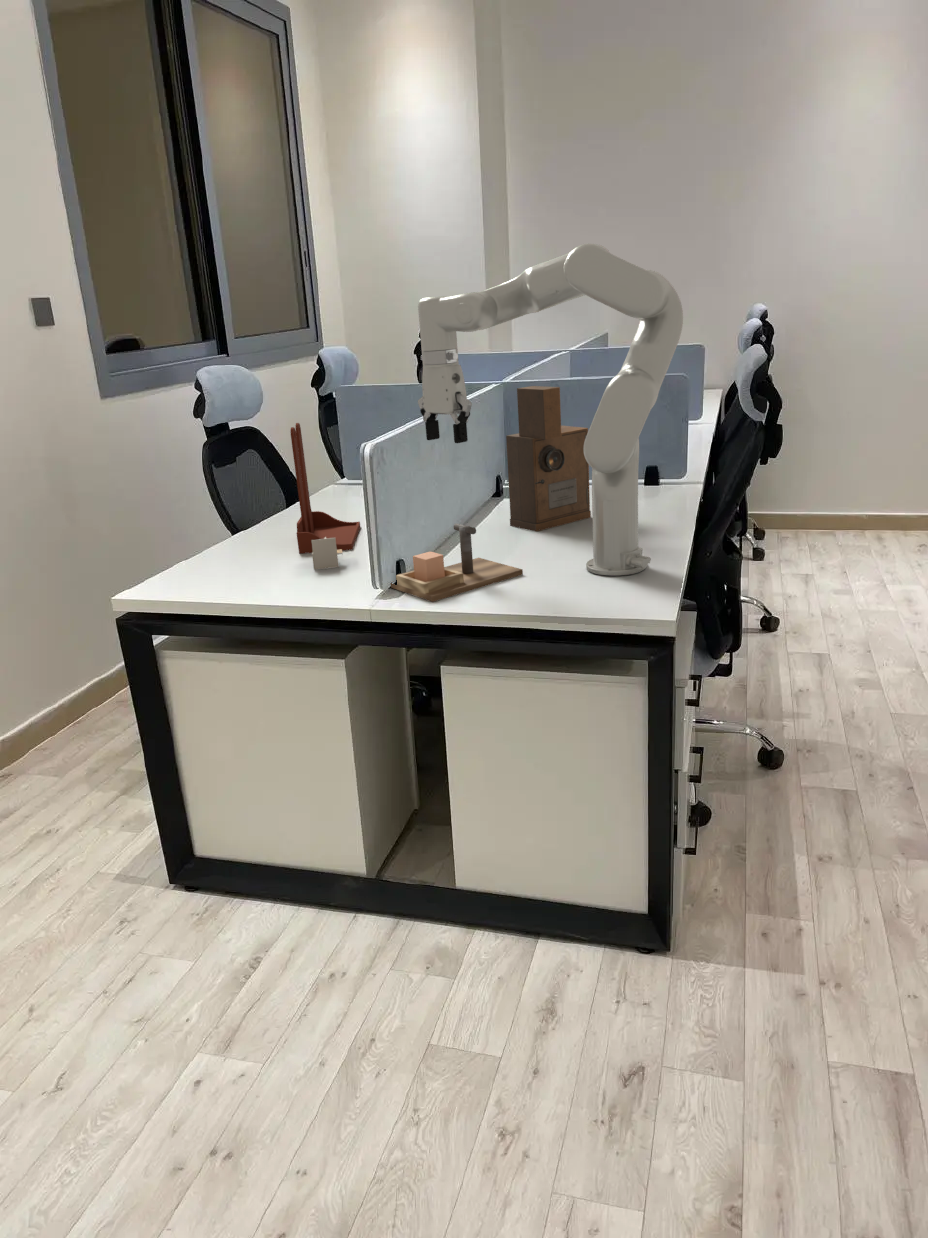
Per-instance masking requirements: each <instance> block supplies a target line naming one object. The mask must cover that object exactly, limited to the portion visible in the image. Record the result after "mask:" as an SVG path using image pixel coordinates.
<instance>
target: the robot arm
mask: <svg viewBox="0 0 928 1238" xmlns="http://www.w3.org/2000/svg"><path fill="white" fill-rule="evenodd" d="M583 296H587V297H589V298H591V299H593V300H595V301H597V302H599V303H601V304H603V305H605V306H607V307H609V308H611V309H613V310H615V311H617V312H619V313H621V314H623V315H625V316H627V317H630V318H633V319H638V325H637V328H636V329H637V330H636V331H635V334H634V337H633V339H632V340H631V344H630V345H629V350H628V351H627V354H626V357H625V360H624V361H623V363H622V366H621V369H620V370H619V372H618V373H617V374H616V375H615V376H614V377H612V379H611V380H610V381H608V382H609V383H608V384H607V385H606V388H605V389H604V392H603V394H602V397H601V399H600V400H599V401H600V402H599V404H598V406H597V410H596V412H595V414H594V416H593V419H592V421H591V424H590V426H589V428H588V433H587V436H586V439H585V442H584V456H585V459H586V461H587V463H588V464H589V468H591V504H592V505H591V507H592V511H591V512H592V513H591V514H592V515H591V517H592V547H593V548H592V553H593V555H592V556H593V558H591V559H589V560H588V561H587V562H586V564H585V565H586V570H587V571H588V572H590V573H592V574H596V575H600V576H601V575H602V576H610V577H611V576H612V577H613V576H614V577H616V576H617V577H618V576H627V575H634V574H638V573H640V572H642V571H644V570H645V569H646V568H647V567H648V565H649V564H650V563H651V561H652V560H651V559H652V558H651V557H650V556H646V555H643V548H642V547H639V466H640V465H639V462H640V435H641V433H642V430H643V429H644V426H645V423H646V422H647V419H648V417H649V415H650V412H651V410H652V408H654V406H655V404H656V403H657V400H658V398H659V393H660V390H661V386H662V384H663V381H664V379H665V377H666V374H667V372H668V370H669V367H670V365H671V362H672V360H673V357H674V355H675V352H676V350H677V346H678V344H679V341H680V338H681V336H682V331H683V324H684V310H683V306H682V305H683V304H682V302H681V298H680V296H679V294H678V292H677V290H676V289H675V288H674V286H673V285H672V284H671V282H670V281H669V280H668V279H667V278H666V277H665V276H664V275H663V274H661V273H660V272H657V271H655V270H651V269H650V270H648V269H644V268H642V267H640V266H638V265H636V264H633V263H631V262H629V261H627V260H625V259H623V258H621V257H619V256H616V255H614V254H613V253H611V252H610V251H609V250H608V249H607V248H606V247H604V246H602V245H600V244H596V243H595V244H594V243H583V244H580V245H578V246H576V247H575V248H574V249H572V250H571V251H570V252H567V253H565V254H563V255H560V256H557V257H555V258H551V259H550V260H547V261H543V262H540V263H538V264H535V265H532V266H530V267H528V268H526V269H525V270H524V271H522V272H521V273H520V274H519V275H518V276H516V277H514V278H513V279H510V280H508V281H506V282H503V283H501V284H498V285H496V286H493V287H490V288H487V289H485V290H481V291H479V292H478V291H477V292H466V293H461V294H457V295H453V296H452V295H451V296H447V295H446V296H445V295H442V296H429V297H428V296H427V297H423V298H421V299H420V300H419V302H418V303H417V304H418V305H417V312H418V313H417V314H418V322H419V334H420V335H419V336H420V345H421V357H422V376H421V378H422V379H421V380H422V381H421V383H422V387H421V390H422V396H421V397H420V398H419V399H418V400H417V405H418V406H419V409H420V414H421V416H422V420H423V422H424V423H425V426H424V427H425V434H426V435H425V436H426V440H427V441H433V440H438V439H440V437H441V435H440V426H439V423H440V422H439V419H437V418H438V416H439V415H448V416H449V415H450V417H451V418H452V420H453V421H454V423H453V424H452V428H453V430H452V431H453V440H454V441H453V442H454V444H460V443H467V442H468V427H467V423H468V422H469V418H470V416H471V410H472V407H473V404H472V401H470V400H469V399H468V398H467V388H466V382H465V377H464V371H463V369H462V366H461V364H459V363H460V362H459V351H458V338H457V337H458V336H457V332H462V333H473V332H477V331H482V330H487V329H490V328H493V327H495V326H498V325H501V324H503V323H506V322H510V321H512V320H514V319H517V318H520V317H523V316H525V315H526V316H527V315H530V314H535V313H539V312H541V311H544V310H547V309H549V308H550V309H551V308H552V307H555V306H558V305H561V304H563V303H566V302H570V301H572V300H574V299H577V298H580V297H583Z"/></svg>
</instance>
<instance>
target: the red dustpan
mask: <svg viewBox="0 0 928 1238" xmlns="http://www.w3.org/2000/svg"><path fill="white" fill-rule="evenodd" d="M290 440H291V447H292V448H291V449H292V454H293V461H294V463H293V465H294V471H295V478H296V487H297V493H298V501H299V509H300V518H299V519H298V521H297V522H296V539H297V546H298V554H312V552H313V551H312V542H311V540H318V539H324V538H325V537H326V539H327V538H335V539H336V547H337V550H340V549H342V552H343V551H345V552H346V551H353V549H354V546H355V543H356V540H357V538H358V535H359V532H360V528H361V522H360V521H345V520H344V521H343V520H340V519H337V518H335V517H333V516H331V515H330V514H329V513H326V512H324V511H319V510H315V511H312V507H311V506H312V505H311V498H310V491H309V482H308V475H307V467H306V460H305V450H304V445H303V444H304V443H303V436H302V428H301V424H300V423H299V422H296V423H295V427H294V426H293V427H290Z"/></svg>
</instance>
